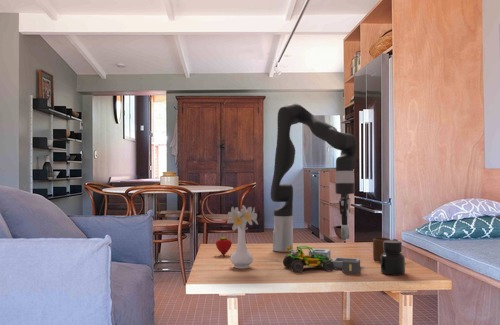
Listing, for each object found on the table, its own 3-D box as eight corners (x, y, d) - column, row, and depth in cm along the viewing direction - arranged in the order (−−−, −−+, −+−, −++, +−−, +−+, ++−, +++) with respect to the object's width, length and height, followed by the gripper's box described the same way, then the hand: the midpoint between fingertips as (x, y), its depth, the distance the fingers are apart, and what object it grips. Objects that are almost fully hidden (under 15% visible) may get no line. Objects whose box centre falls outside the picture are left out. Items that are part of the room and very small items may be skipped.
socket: (308, 260, 202) (308, 251, 202) (312, 257, 209) (312, 248, 209) (326, 261, 199) (326, 252, 199) (330, 258, 206) (330, 249, 206)
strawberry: (232, 255, 214) (232, 234, 215) (216, 256, 214) (216, 234, 214) (231, 253, 220) (231, 232, 221) (215, 254, 219) (215, 233, 220)
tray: (331, 268, 185) (331, 261, 185) (335, 264, 193) (335, 257, 193) (357, 270, 181) (356, 262, 181) (359, 266, 189) (359, 258, 190)
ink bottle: (405, 271, 179) (404, 240, 179) (407, 276, 170) (407, 243, 171) (379, 270, 181) (378, 239, 181) (380, 275, 173) (379, 242, 173)
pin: (340, 238, 186) (340, 204, 187) (342, 237, 189) (341, 203, 190) (348, 239, 185) (348, 204, 186) (349, 238, 188) (349, 203, 188)
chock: (358, 274, 174) (358, 262, 174) (342, 273, 177) (342, 261, 177) (360, 272, 178) (360, 260, 178) (344, 271, 180) (344, 259, 180)
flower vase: (226, 272, 178) (225, 208, 179) (227, 263, 197) (226, 204, 197) (259, 272, 179) (259, 207, 179) (257, 263, 197) (257, 204, 198)
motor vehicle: (334, 271, 182) (333, 244, 182) (287, 274, 177) (287, 246, 177) (322, 265, 193) (321, 240, 193) (278, 268, 188) (278, 242, 188)
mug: (395, 258, 206) (395, 237, 207) (404, 261, 199) (403, 239, 199) (370, 259, 204) (370, 238, 204) (377, 262, 197) (377, 240, 197)
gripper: (351, 182, 180) (352, 226, 179) (356, 181, 193) (357, 223, 193) (332, 182, 183) (332, 226, 182) (338, 181, 196) (338, 222, 195)
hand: (345, 224), depth 187 cm, fingers closed on pin, 3 cm apart
